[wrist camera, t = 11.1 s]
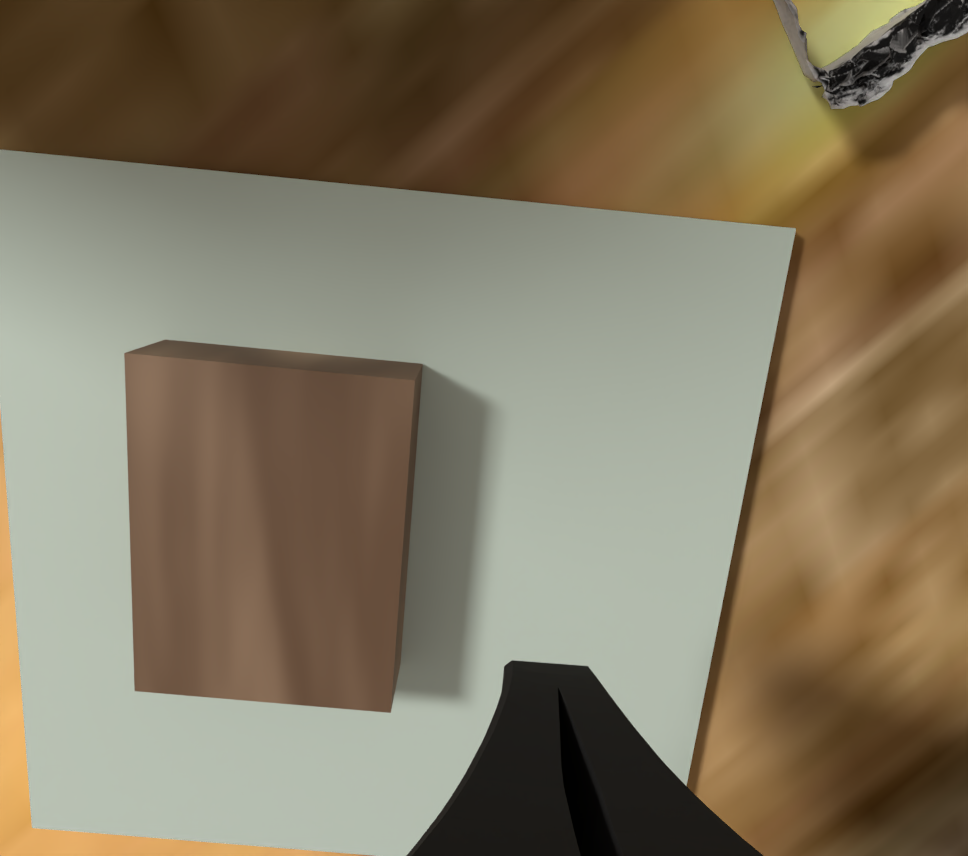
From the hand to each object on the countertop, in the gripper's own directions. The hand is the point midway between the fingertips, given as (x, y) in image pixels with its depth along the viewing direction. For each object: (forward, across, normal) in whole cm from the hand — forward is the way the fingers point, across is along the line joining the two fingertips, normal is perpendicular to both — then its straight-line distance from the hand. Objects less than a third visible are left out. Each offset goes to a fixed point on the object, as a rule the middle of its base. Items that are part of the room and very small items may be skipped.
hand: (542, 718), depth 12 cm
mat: (+7, +4, +1) cm, 8 cm away
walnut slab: (+6, +3, 0) cm, 7 cm away
